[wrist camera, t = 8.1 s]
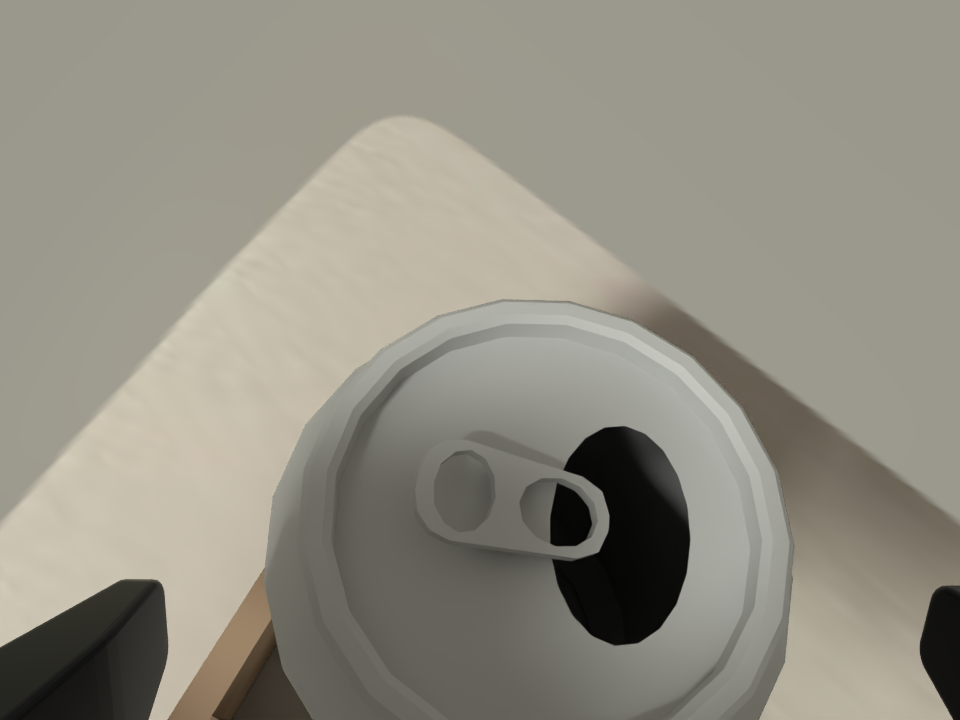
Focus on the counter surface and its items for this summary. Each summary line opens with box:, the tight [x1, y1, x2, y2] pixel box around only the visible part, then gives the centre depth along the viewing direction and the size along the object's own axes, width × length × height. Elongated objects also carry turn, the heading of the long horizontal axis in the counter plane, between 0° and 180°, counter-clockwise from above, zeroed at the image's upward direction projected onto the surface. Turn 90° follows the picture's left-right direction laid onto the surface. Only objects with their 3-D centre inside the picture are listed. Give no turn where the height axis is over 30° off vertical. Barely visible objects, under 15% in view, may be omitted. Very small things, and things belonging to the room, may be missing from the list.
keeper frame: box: [168, 568, 277, 720], centre depth 19 cm, size 11×11×2 cm
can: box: [263, 299, 794, 720], centre depth 15 cm, size 8×8×12 cm
